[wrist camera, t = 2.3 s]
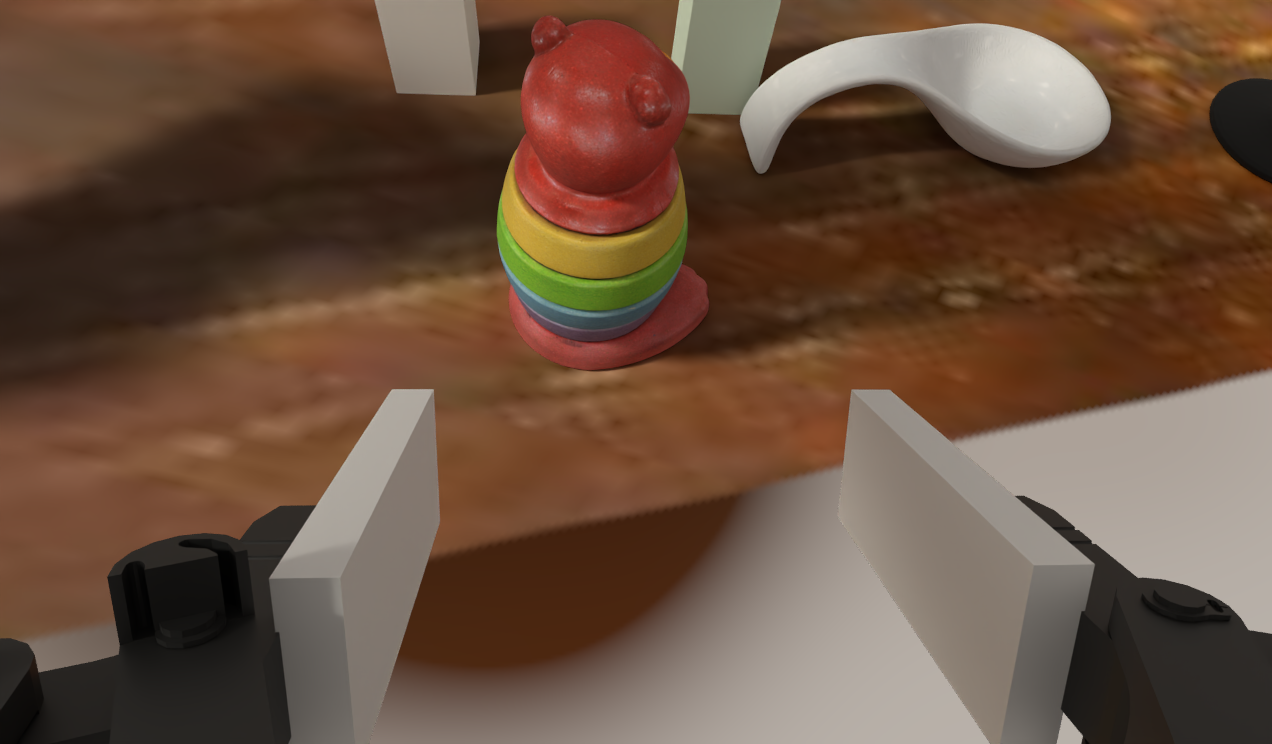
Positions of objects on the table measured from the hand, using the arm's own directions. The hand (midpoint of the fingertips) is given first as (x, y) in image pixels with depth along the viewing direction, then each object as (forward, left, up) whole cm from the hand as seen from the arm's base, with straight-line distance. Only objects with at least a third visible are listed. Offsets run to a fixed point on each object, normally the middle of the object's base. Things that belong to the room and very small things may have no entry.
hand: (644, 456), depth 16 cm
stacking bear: (0, +20, -25) cm, 32 cm away
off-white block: (-10, +38, -25) cm, 46 cm away
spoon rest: (+22, +33, -25) cm, 47 cm away
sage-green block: (+8, +37, -25) cm, 45 cm away
